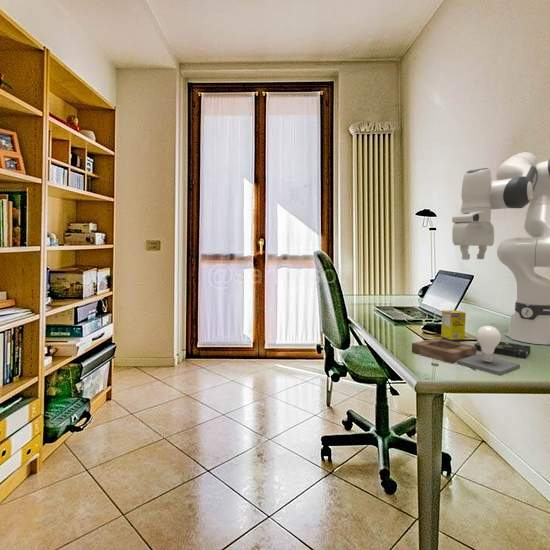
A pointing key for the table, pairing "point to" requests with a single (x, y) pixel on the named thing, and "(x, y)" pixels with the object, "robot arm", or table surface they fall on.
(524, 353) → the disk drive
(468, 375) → the table surface
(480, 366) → the mat
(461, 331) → the supplement box
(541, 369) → the table surface
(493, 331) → the lightbulb
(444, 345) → the holder
